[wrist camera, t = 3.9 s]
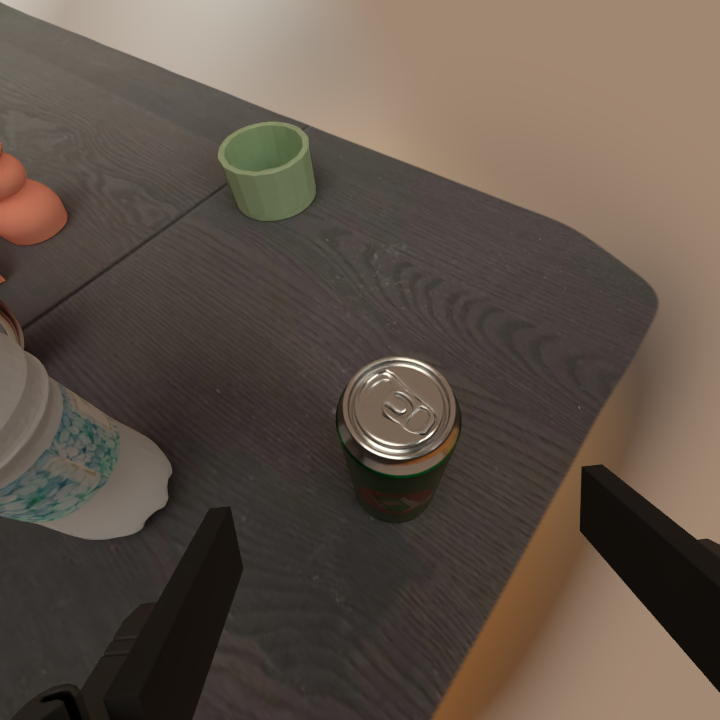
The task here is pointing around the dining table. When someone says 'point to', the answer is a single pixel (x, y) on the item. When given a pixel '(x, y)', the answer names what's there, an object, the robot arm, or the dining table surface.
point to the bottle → (71, 457)
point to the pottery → (26, 206)
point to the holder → (269, 170)
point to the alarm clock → (10, 325)
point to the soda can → (397, 435)
